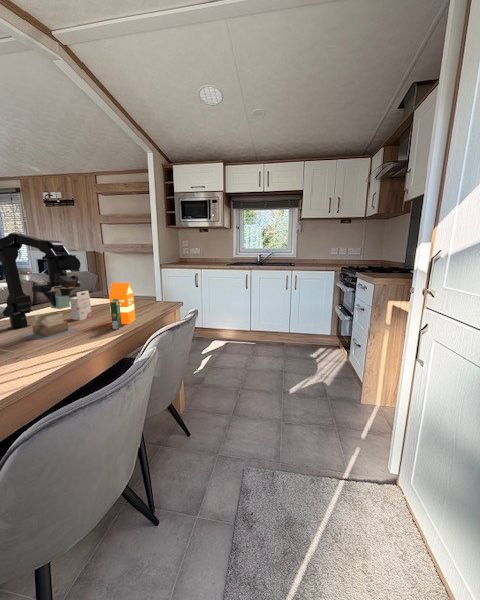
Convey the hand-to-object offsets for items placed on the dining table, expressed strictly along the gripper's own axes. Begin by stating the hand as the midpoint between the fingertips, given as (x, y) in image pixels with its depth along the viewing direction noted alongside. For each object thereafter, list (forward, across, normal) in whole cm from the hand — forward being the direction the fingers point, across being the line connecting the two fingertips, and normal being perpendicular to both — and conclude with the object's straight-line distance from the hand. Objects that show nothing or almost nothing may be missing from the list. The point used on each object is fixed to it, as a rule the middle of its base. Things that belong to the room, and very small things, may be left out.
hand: (60, 305), depth 119 cm
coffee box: (+12, +11, -20) cm, 26 cm away
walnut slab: (+11, -5, +1) cm, 12 cm away
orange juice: (+12, +20, -16) cm, 28 cm away
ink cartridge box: (+12, +19, +10) cm, 25 cm away
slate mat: (+12, -5, +1) cm, 13 cm away
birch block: (+7, -5, +1) cm, 9 cm away
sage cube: (+1, 0, 0) cm, 1 cm away
